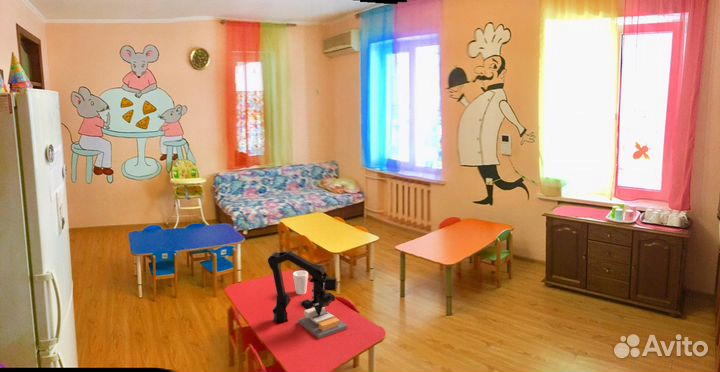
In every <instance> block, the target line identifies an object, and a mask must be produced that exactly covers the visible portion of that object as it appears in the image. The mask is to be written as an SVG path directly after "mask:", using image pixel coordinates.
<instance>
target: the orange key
mask: <svg viewBox="0 0 720 372" xmlns="http://www.w3.org/2000/svg"><path fill="white" fill-rule="evenodd" d="M334 317H335V318H332V319H329V320H326V321H324V322H321V323H319V329H320V330H322V331H325V330H328V329H331V328H334V327H336V326H339V325H340V321H341V320H340V319H339V318H337V316H334Z"/></svg>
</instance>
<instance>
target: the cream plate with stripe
mask: <svg viewBox="0 0 720 372" xmlns="http://www.w3.org/2000/svg"><path fill="white" fill-rule="evenodd" d="M334 317H335V315H333V314H331V313H330V312H329V313H328V311H327V312H326V313H323V314H320V315H317V316H314V317H311V320H312V321H314V322H315V323H320V322H323V321H326V320H329V319H332V318H334Z"/></svg>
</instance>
